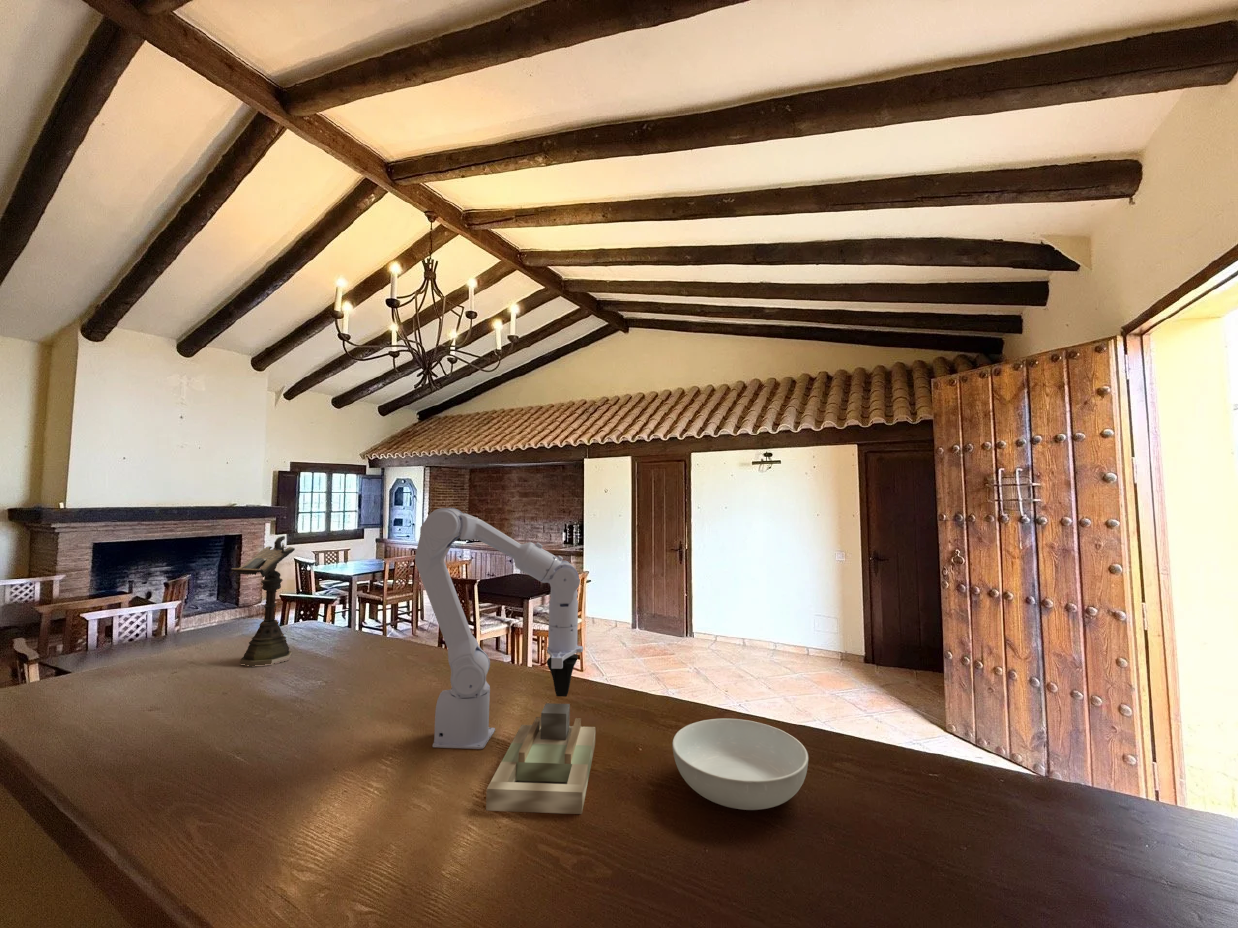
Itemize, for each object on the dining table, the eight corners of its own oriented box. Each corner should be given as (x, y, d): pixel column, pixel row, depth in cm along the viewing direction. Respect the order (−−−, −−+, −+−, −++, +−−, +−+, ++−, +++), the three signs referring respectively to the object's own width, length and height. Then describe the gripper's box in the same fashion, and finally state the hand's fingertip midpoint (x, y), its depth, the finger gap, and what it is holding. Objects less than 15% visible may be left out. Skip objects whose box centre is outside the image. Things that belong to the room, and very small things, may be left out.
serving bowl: (668, 756, 91) (668, 716, 92) (786, 759, 91) (785, 719, 91) (677, 829, 71) (677, 777, 71) (830, 834, 70) (829, 781, 71)
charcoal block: (540, 739, 91) (541, 712, 91) (545, 728, 95) (545, 703, 95) (565, 739, 90) (566, 713, 91) (569, 728, 95) (569, 703, 95)
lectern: (245, 675, 131) (255, 537, 133) (211, 669, 135) (221, 536, 138) (305, 657, 146) (312, 534, 149) (272, 652, 150) (280, 533, 153)
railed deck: (486, 810, 74) (487, 777, 75) (521, 741, 96) (521, 716, 97) (581, 813, 74) (582, 781, 74) (595, 743, 96) (595, 718, 96)
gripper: (578, 633, 94) (577, 710, 93) (587, 616, 108) (586, 682, 107) (540, 633, 94) (539, 709, 93) (554, 616, 109) (552, 682, 107)
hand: (562, 695), depth 100 cm, fingers closed
